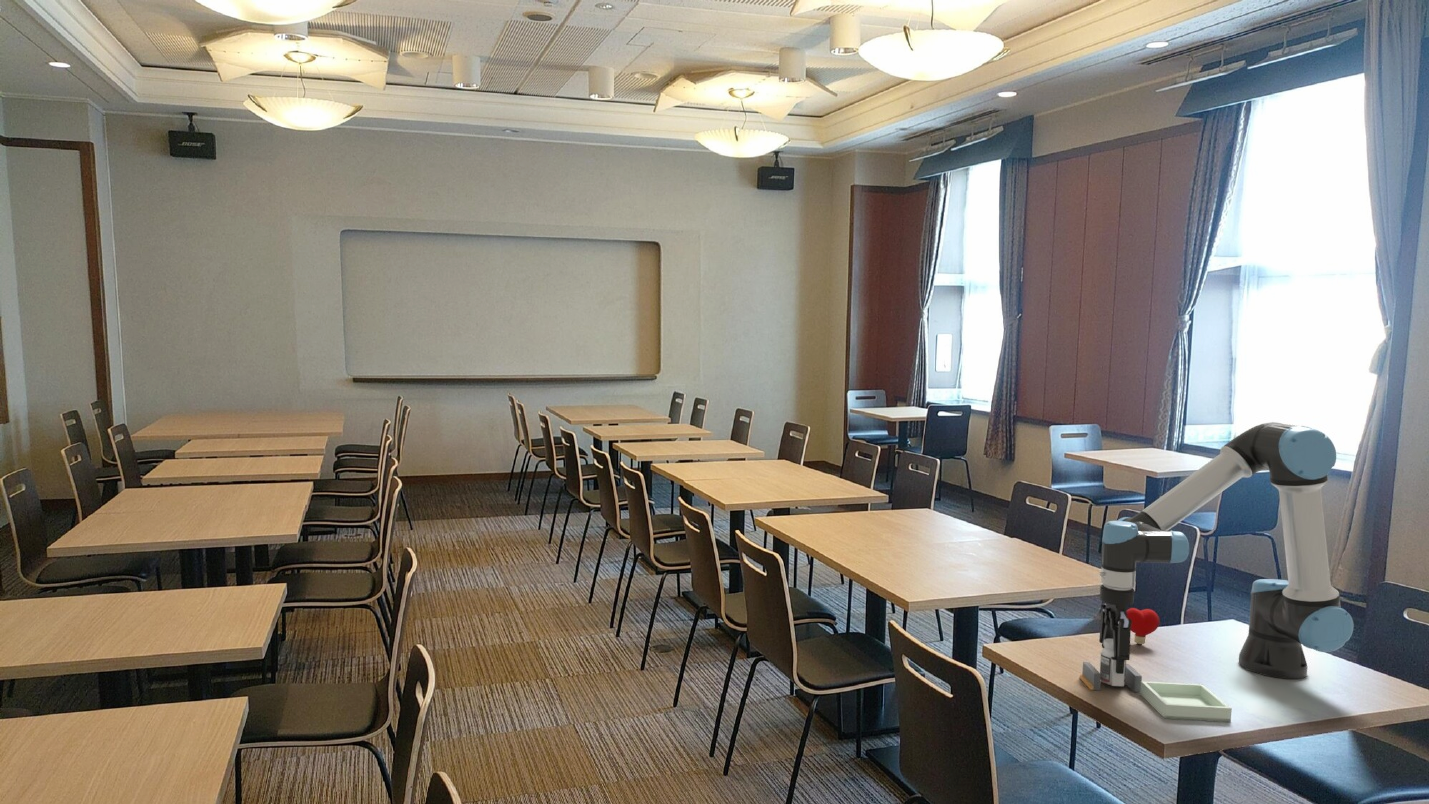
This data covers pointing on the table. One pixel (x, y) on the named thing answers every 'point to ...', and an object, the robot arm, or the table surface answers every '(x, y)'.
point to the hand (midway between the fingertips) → (1112, 680)
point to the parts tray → (1185, 701)
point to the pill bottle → (1108, 662)
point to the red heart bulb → (1142, 623)
